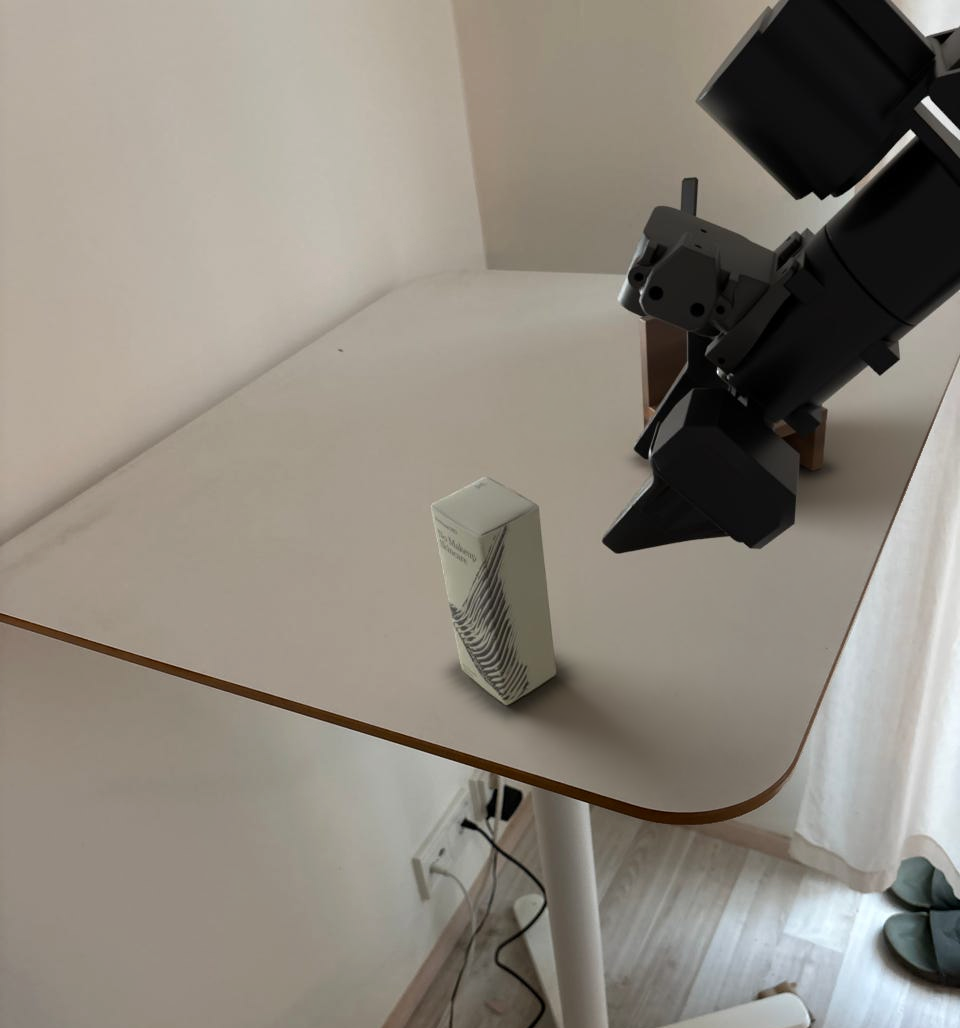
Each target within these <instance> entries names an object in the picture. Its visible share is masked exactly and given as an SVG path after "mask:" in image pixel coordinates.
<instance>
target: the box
mask: <svg viewBox="0 0 960 1028" xmlns="http://www.w3.org/2000/svg"><path fill="white" fill-rule="evenodd" d="M430 510H431V516H432V521H433V526H434V531H435V536H436V540H437V547H438V553H439V557H440V562H441V568H442V572H443V578H444V583H445V588H446V589H445V590H446V593H447V594H446V595H447V598H448V604H449V610H450V614H451V620H452V626H453V631H454V632H453V633H454V636H455V642H456V647H457V652H458V657H459V663H460V667H461V670H462V671H463V672H464V673H465V674H466V675H467V676H469V678H471V680H473V681H474V682H475V683H477V684H478V685H479V686H480V687H481V688H483V689H484V690H485V691H486V692H487V693H489V694H490V695H491V696H493V698H495V699H497V700H498V701H499V702H500V703H502V704H503V705H505V706H508V705H510V704H512V703H514V702H516V701H517V700H519V699H520V698H522V697H524V696H526V695H527V694H529V693H530V692H532V691H533V690H536V688H538V687H539V686H541V685H542V684H544V683H546V682H547V681H548V680H550V679H552V678H553V677H555V676H557V675H556V674H557V667H556V657H555V648H554V639H553V638H554V637H553V631H552V621H551V611H550V610H551V609H550V600H549V591H548V581H547V573H546V564H545V563H546V562H545V554H544V545H543V535H542V526H541V524H542V523H541V514H540V507H539V505H538V504H537V503H536V502H534V501H533V500H532V499H529V498H527V497H526V496H524V495H522V494H521V493H519V492H517V491H516V490H515V489H513V488H510V487H509V486H506V485H504V484H503V483H500V482H499V481H497V480H495V479H493V478H491V477H490V476H488V475H487V476H484V477H481V478H479V479H477V480H475V481H473V482H472V483H470V484H468V485H465V486H464V487H462V488H460V489H458V490H456V491H455V492H452V493H450V494H449V495H448V494H447V495H446V496H445V497H442V498H441V499H438V500H437V501H435V502H433V503H431V504H430Z"/></svg>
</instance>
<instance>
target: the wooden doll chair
mask: <svg viewBox="0 0 960 1028" xmlns="http://www.w3.org/2000/svg"><path fill="white" fill-rule="evenodd" d="M638 325H639V348H640V367H641V368H640V369H641V370H640V371H641V390H642V393H641V394H642V414H643V429H644V428H645V427H646V425H647V424H648V422H649V421H650V419H651V417H652V416H653V414H654V413H655V411H656V410H657V408H658V407H659V405H660V404H661V402H662V400H663V399H664V397H665V396H666V394H667V393H668V391H669V390H670V388H671V387H672V385H673V383H674V382H675V380H676V379H677V377H678V375H679V374H680V372H681V371H682V369H683V367H684V366H685V364H686V363H687V331H685V330H683V329H680V328H678V327H675V326H673V325H670V324H668V323H665V322H663V321H661V320H658V319H656V318H653V317H651V316H648V315H647V316H645V317H642V316H640V317H639V318H638ZM828 410H829V409H828V408H826V407H824V406H822V415H821V424H820V425H819V426H818V427H817V428H815V429H814V430H813V431H812V432H810V433H809V434H808V435H807V436H805V437H804V438H802V437H801V436H800V435H799V434H798V433H797V432H796V431H795V430H793V429H792V428H791V427H790V426H789V425H788V424H787V423H786V422H785V421H783V420H781V421H780V422H779V423H778V424H777V423H775V428H774V432H775V433H776V434H777V435H779V436H780V437H781V438H782V439H783V440H784V441H785V442H786V443H787V444H789V445H790V446H791V447H792V448H793V449H794V450H795V451H796V452H798V453H799V454H800V460H799V465H801V466H803V467H804V468H805V469H807V470H810V471H811V472H814V471H817V470H819V469H822V468H823V465H824V454H825V453H824V452H825V444H826V443H825V441H826V432H827V431H826V429H827V420H828ZM647 460H648V461H649V459H647Z"/></svg>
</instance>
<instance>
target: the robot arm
mask: <svg viewBox="0 0 960 1028" xmlns="http://www.w3.org/2000/svg"><path fill="white" fill-rule="evenodd" d="M696 97H697V98H696V99H695V101H694V102H695V104H697V105H698V106H699V107H700V108H701V109H702V110H703V111H704V112H705V113H706V114H707V116H709V118H711V119H712V120H713V121H714V122H715V123H716V124H717V125H718V126H719V127H720V128H721V129H722V130H723V131H724V132H725V133H726V134H727V135H728V136H729V137H731V139H732V140H733V141H734V142H736V143H737V145H739V146H740V147H741V148H742V149H743V150H744V151H745V153H747V154H748V156H750V157H751V158H752V159H753V160H754V161H755V162H756V163H757V164H758V165H759V166H760V167H761V168H762V169H763V170H764V171H765V172H766V173H767V174H768V175H769V176H771V178H772V179H773V180H775V181H776V182H777V184H779V186H781V187H782V188H783V189H784V190H785V191H786V192H787V193H788V194H789V195H790V196H791V197H792V198H793V199H794V200H795V201H799V200H802V199H804V198H806V197H807V196H809V195H811V194H812V193H813V195H815V197H817V198H818V199H819V200H820V201H821V202H822V201H824V200H825V199H826V198H828V197H829V196H830V195H831V196H832V197H833V198H839V197H841V196H843V195H844V194H846V193H847V192H849V191H850V190H852V189H853V188H854V187H855V186H856V185H858V183H860V182H861V181H863V179H864V178H865V177H866V176H868V174H870V173H871V172H872V170H874V169H875V167H876V166H878V165H879V163H880V162H881V161H883V159H884V158H885V157H886V156H887V155H888V153H890V151H892V150H893V148H894V147H895V146H896V145H897V143H898V142H900V141H901V140H902V139H903V137H905V135H906V134H908V133H909V132H910V131H911V132H912V133H913V134H914V135H915V136H913V138H911V139H910V140H909V141H908V142H907V144H905V145H904V146H903V147H902V148H901V149H900V150H899V151H898V152H896V154H895V155H894V156H893V157H892V158H890V160H889V161H888V162H887V163H886V164H884V166H883V167H882V168H881V169H880V170H879V171H878V172H877V173H875V174H874V176H873V177H872V178H870V179H869V181H868V182H867V183H865V184H864V186H863V187H861V188H860V190H859V191H857V192H856V193H855V194H854V195H853V196H852V197H851V198H850V199H849V200H848V201H847V202H846V203H845V204H844V205H842V207H841V208H840V209H839V210H838V211H837V212H836V213H835V214H834V215H833V216H832V217H831V218H830V219H829V220H828V221H827V222H826V223H825V224H824V225H822V227H821V228H820V229H819V230H817V232H816V233H814V232H812V231H811V230H810V229H809V228H808V227H806V228H805V229H804V230H803V231H802V232H801V233H799V231H797V230H795V231H793V232H792V233H790V234H789V236H788V237H787V238H786V239H785V240H783V242H781V244H780V245H778V246H777V248H775V249H774V250H772V249H770V248H768V247H764V246H762V245H761V244H758V243H757V242H754V241H752V240H750V239H749V238H747V237H745V236H743V234H740V233H738V232H736V231H733V230H731V229H728V228H726V227H723V226H720V225H718V224H716V223H713V222H711V221H709V220H705V219H703V218H700V217H698V216H697V215H696V216H693V215H691V214H688V213H686V212H683V211H681V209H678V208H675V207H672V206H669V205H657V206H655V207H654V208H653V210H652V211H651V213H650V216H649V218H648V220H647V221H646V224H645V226H644V228H643V231H642V233H641V235H640V238H639V240H638V243H637V246H636V248H635V250H634V253H633V256H632V259H631V260H630V264H629V266H628V268H627V271H626V273H625V276H624V279H623V281H622V284H621V286H620V289H619V292H618V294H617V297H616V298H617V301H618V303H619V304H620V306H621V307H623V308H624V309H625V310H627V311H628V312H630V313H632V314H635V315H637V316H639V317H645V316H647V315H648V316H651V317H653V318H656V319H658V320H661V321H663V322H665V323H668V324H670V325H673V326H675V327H678V328H680V329H683V330H685V331H687V363H686V364H685V366H684V367H683V369H682V371H681V372H680V374H679V375H678V377H677V379H676V380H675V382H674V383H673V385H672V387H671V388H670V390H669V391H668V393H667V394H666V396H665V397H664V399H663V400H662V402H661V404H660V405H659V407H658V408H657V410H656V411H655V413H654V414H653V416H652V417H651V419H650V421H649V422H648V424H647V425H646V427H645V428H644V427H643V430H642V432H641V433H640V434H639V436H638V438H637V439H636V441H635V443H634V445H633V451H634V452H635V453H636V454H637V455H639V456H640V457H641V458H642V459H644V460H648V459H649V460H648V463H649V466H650V467H651V469H652V472H651V474H650V475H649V476H648V477H647V478H646V480H645V481H644V483H643V484H642V485H641V486H640V488H639V489H638V490H637V492H635V493H634V495H633V496H632V498H631V499H630V500H629V501H628V502H627V504H626V505H625V507H624V508H623V509H622V510H621V511H620V513H619V514H618V515H617V516H616V518H615V519H614V521H613V522H612V524H611V525H610V526H609V527H608V529H607V530H606V531H605V532H604V534H603V536H602V539H601V543H602V544H603V545H604V546H605V547H606V548H608V549H609V550H610V551H611V552H612V553H614V554H616V555H617V554H618V555H620V554H625V553H626V554H627V553H631V552H635V551H636V552H637V551H641V550H647V549H651V548H656V547H661V546H667V545H672V544H673V545H674V544H677V543H678V544H679V543H685V542H690V541H698V540H699V541H700V540H709V539H717V538H727V537H730V538H731V539H732V540H733V541H735V542H737V543H739V544H744V545H745V546H746V547H747V548H749V549H750V550H751V549H752V550H753V549H754V550H761V549H763V548H764V547H765V546H767V545H768V544H770V543H771V542H772V541H774V540H775V539H776V538H778V537H779V536H781V534H783V533H785V532H786V531H787V530H788V529H790V528H792V527H793V526H794V525H795V524H796V514H797V513H796V512H797V499H798V488H799V477H800V476H799V475H800V463H799V460H800V454H799V453H798V452H796V451H795V450H794V449H793V448H792V447H791V446H790V445H789V444H787V443H786V442H785V441H784V440H783V439H782V438H781V437H780V436H779V435H777V434H776V433H775V432H774V428H775V423H777V424H778V423H779V422H780V421H781V420H783V421H785V422H786V423H787V424H788V425H789V426H790V427H791V428H792V429H793V430H795V431H796V432H797V433H798V434H799V435H800V436H801V437H802V438H804V437H805V436H807V435H808V434H809V433H810V432H812V431H813V430H814V429H815V428H817V427H818V426H819V425H820V424H821V415H822V407H823V404H824V403H825V402H826V401H828V400H829V399H830V398H832V397H833V396H834V395H835V394H836V393H838V391H840V390H841V389H842V388H843V387H845V386H846V385H847V384H848V383H850V382H851V381H852V380H853V379H854V378H855V377H857V376H858V375H859V374H861V372H862V371H865V369H867V367H869V368H871V369H872V370H873V371H874V372H875V373H876V375H878V376H879V377H881V376H882V375H883V374H884V373H886V372H887V371H888V370H889V369H891V368H892V367H893V366H894V365H895V364H897V363H898V362H900V360H901V354H900V353H901V352H900V344H899V343H900V340H902V339H903V338H904V337H905V336H906V335H908V334H909V333H910V332H911V331H912V330H913V329H915V328H916V327H917V326H918V325H919V324H921V323H922V322H923V321H924V320H925V319H927V318H929V316H931V314H933V313H934V312H935V311H936V310H937V309H939V308H940V307H941V306H942V305H943V304H945V303H946V302H947V301H948V300H950V299H951V298H952V297H953V296H955V295H956V294H957V293H958V292H959V291H960V139H959V138H958V137H957V136H956V135H955V134H954V133H952V132H951V130H949V128H948V127H946V126H945V125H944V124H943V123H942V122H941V120H939V119H938V118H937V116H936V115H934V113H933V112H932V111H930V109H929V108H928V107H927V106H926V105H925V104H924V103H923V102H922V101H923V100H924V99H925V98H927V97H929V99H930V101H931V102H932V103H933V104H934V105H935V106H936V107H937V108H938V109H939V111H941V113H942V114H943V115H944V116H945V117H946V118H947V119H948V120H949V121H950V122H951V123H952V124H953V125H954V126H955V127H956V128H957V129H958V131H960V25H959V26H958V27H954V28H950V29H947V30H944V31H939V32H936V33H932V34H929V35H926V36H925V35H924V33H922V32H921V30H919V28H918V27H917V26H915V24H914V23H913V22H912V21H911V20H910V19H909V18H908V16H907V15H905V14H904V13H903V11H902V10H901V9H900V8H899V7H898V6H897V5H896V3H894V2H893V1H892V0H778V1H777V3H776V4H775V5H774V6H773V7H772V8H771V6H770V5H767V6H766V8H765V9H764V10H763V11H762V12H761V13H760V15H758V17H757V19H756V20H755V21H754V22H753V23H752V25H751V26H750V27H749V29H748V30H746V32H745V33H744V35H743V36H742V37H741V38H740V40H739V41H738V42H737V43H736V45H735V46H734V47H733V49H732V50H731V51H730V52H729V54H728V55H727V56H726V57H725V59H724V60H723V61H722V63H721V64H720V65H719V67H718V68H717V69H716V71H715V72H714V73H713V75H712V76H711V77H710V79H708V82H707V83H706V84H705V86H704V87H703V89H701V91H700V92H699V94H698V95H697V96H696Z"/></svg>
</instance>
